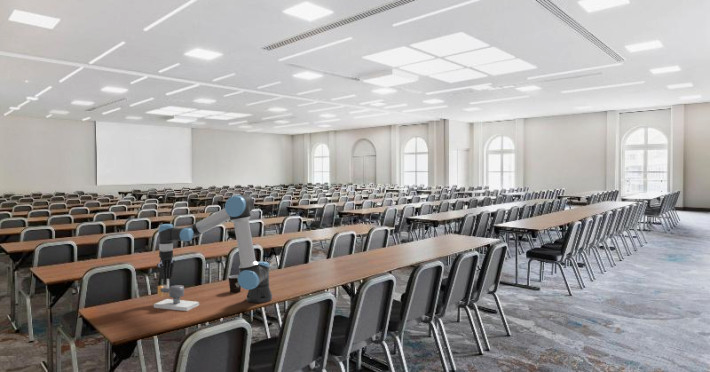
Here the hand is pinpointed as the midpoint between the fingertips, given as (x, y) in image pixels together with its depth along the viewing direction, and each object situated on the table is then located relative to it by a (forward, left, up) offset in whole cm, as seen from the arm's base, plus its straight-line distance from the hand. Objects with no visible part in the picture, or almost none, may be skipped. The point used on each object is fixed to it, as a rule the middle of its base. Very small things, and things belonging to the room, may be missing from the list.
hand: (166, 289), depth 260 cm
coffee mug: (-28, -33, -8) cm, 44 cm away
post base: (-11, +5, -8) cm, 14 cm away
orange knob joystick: (-7, +5, -3) cm, 9 cm away
